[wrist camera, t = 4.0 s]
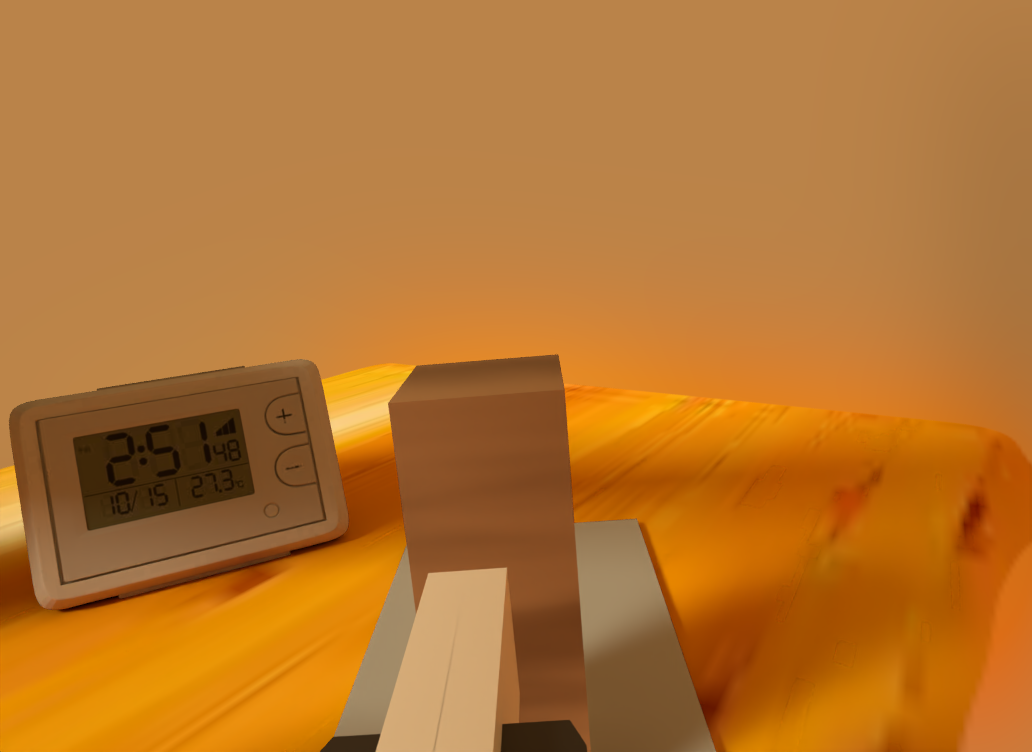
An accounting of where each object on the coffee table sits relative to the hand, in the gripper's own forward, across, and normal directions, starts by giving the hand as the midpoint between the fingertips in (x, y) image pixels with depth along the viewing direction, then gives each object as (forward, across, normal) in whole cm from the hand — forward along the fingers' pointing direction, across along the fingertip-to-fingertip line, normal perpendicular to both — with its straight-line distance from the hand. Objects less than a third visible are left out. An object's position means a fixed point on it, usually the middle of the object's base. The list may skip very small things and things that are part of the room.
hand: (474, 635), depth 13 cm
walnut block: (+8, 0, -10) cm, 12 cm away
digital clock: (+25, -19, -10) cm, 33 cm away
